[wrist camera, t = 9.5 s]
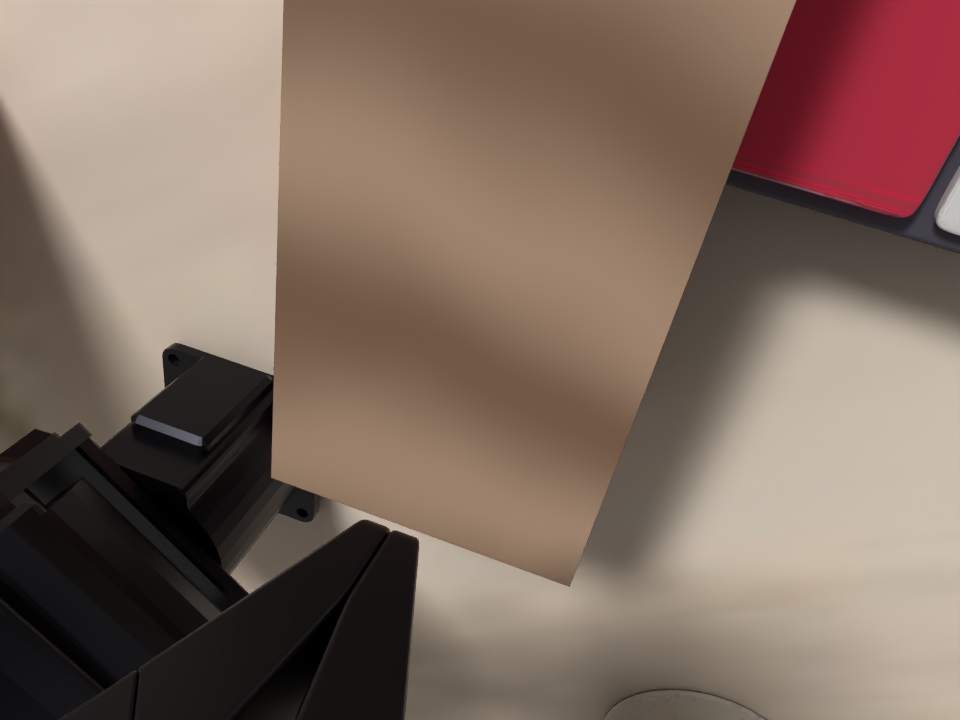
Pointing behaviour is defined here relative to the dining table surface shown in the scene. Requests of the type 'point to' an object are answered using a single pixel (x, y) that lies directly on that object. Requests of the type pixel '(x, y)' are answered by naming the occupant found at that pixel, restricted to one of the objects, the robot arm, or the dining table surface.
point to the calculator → (863, 117)
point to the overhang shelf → (493, 247)
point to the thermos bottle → (679, 707)
